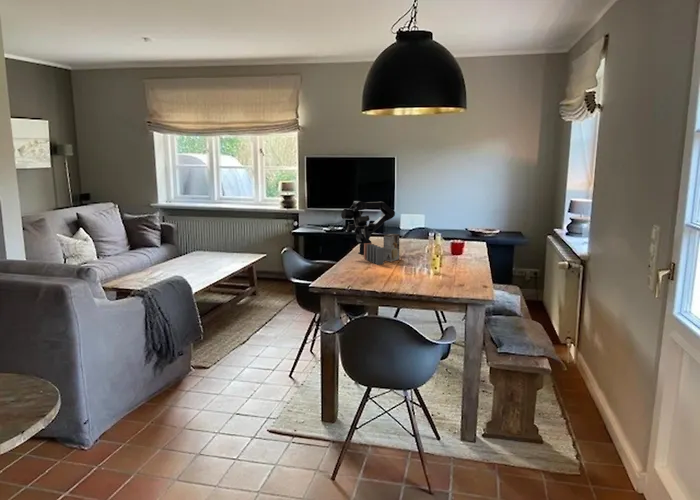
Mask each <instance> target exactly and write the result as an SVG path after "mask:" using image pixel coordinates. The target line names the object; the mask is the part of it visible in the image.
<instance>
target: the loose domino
mask: <svg viewBox="0 0 700 500" xmlns="http://www.w3.org/2000/svg"><path fill="white" fill-rule="evenodd" d="M367 244H373V243H372V242H371V243H364V254H363V259H364V260H367Z"/></svg>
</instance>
